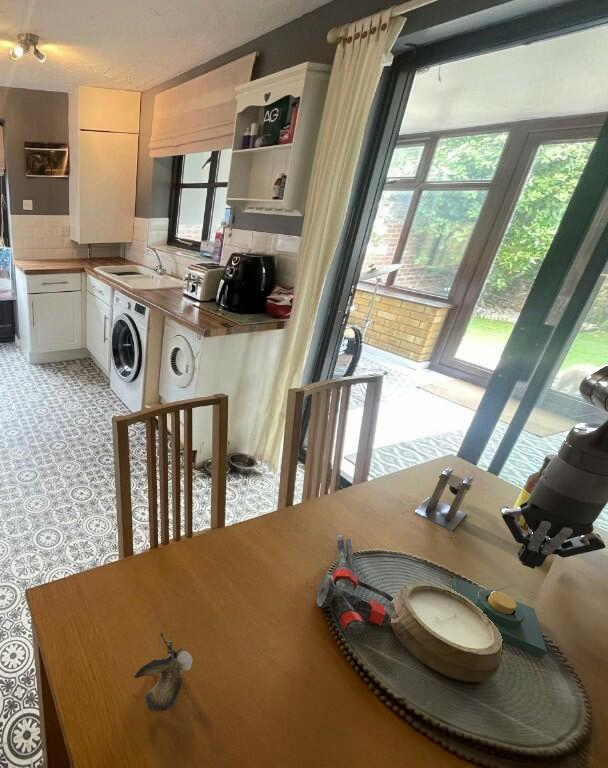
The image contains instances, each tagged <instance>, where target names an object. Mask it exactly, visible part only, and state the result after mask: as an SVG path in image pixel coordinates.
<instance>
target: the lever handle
mask: <svg viewBox="0 0 608 768" xmlns="http://www.w3.org/2000/svg"><path fill="white" fill-rule="evenodd" d="M463 481H464V479H463V478H462V477H460V476H457V475H455V474H453V473H452V474H451V476H450V478H449V479H448V481H447V486H449V487H448V489H449V491H450V493H451V494H452V495H454V496H456V495H457V492H458V490H459V488H460V486H461V484H462V482H463Z"/></svg>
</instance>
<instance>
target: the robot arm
mask: <svg viewBox="0 0 608 768" xmlns="http://www.w3.org/2000/svg"><path fill="white" fill-rule="evenodd" d="M578 392H579V394H580V396H581V397H582V399H583V400H584V401H586V402H587V403H588V404H590V405H591V406H593V407H594V408H597V409H599V410H600V411H602V412H604V413H606V414H608V363H607V364H604V365H601V366H600V367H598V368H595V369H594V370H592V371H591V372H589V373H588V374H587V375H586V376H585V377H584V378H583V379H582V380H581V381H580V384H579V386H578ZM554 455H555V456H554V458H553V459H552V460H551V461H550V462H549V464H548V465H547V467H546V469H544V470H543V472H542V476H541V477H540V479H539V481H538V483H537V485H536V486H535V488H534V490H533V492H532V493H531V495H530V497H529V499H528V501H526V502H525V503H522V504H521V505H520V508H514V507H513V508H509V507H508V506H503V505H502V506H500V508H499V511H500V515H501V518H502V519H503V521H504V523H505V525H506V527H507V528H508V530H509V532H510V533H511V535H512V537H513V538H514V539H513V540H515V542H516V543H517V544H520V545H521V544H522V545H521V547H520V548H519V550H518V551H517V557H518V560H519V561H520V563H521V566H525V567H527V568H531V569H533V570H534V569H536V568H539V567H541V566H543V564H544V562H545V561H546V559H547V558H548V556H551V555H557V556H558V557H560V558H569V557H575V556H578V555H583V554H586V553H587V554H588V553H591V552H595V551H599V550H604V549H606V544H605V541H604V540H603V538H602V537H601V535H600V534H598V533H595V532H594V522H596V520H598V517H599V516H600V515H601V513H602V511H603V510H604V508H605V507H606V505H607V504H608V418H607V419H606V420H605V421H604V422H603V423H602V424H601V423H595V422H583V423H577V424H576V425H574V426H573V427H572V428H570V430H569V432H568V433H567V434H566V436H565V438H564V440H563V441H562V443H561V444H560V447H559V448H558V450H557V452H556V454H554ZM521 515H523V517H524V519H525V521H526V523H527V525H528V531H527V533H524V532H523V530H522V528H521V527H519V525H518V523H517V522H518V521H520V516H521ZM519 561H518V562H519Z"/></svg>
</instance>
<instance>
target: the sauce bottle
mask: <svg viewBox="0 0 608 768" xmlns="http://www.w3.org/2000/svg"><path fill="white" fill-rule="evenodd" d="M555 455H556V454H546V455H545V456H544V458H543V463H542V465H541V467H540V468H539V469H538V471H536V472H534V473H532V474H530V475H529V476H528V477H527V480H526V482H525V484H524V485H523V487H522V489H521V491H520V493H519V495H518V497H517V500H516V502H515V503H514V506H513V508H520V505H521V504H522V503H525V502H526V501H528V499H529V497H530V495H531V493H532V492H533V490H534V488H535V486H536V485H537V483H538V481H539V479H540V477H541V476H542V472H543V470H544V469H546V467H547V465H548V464H549V462H550V461H551V460H552V459H553V458H554V456H555ZM517 523H518V525H519V527H520V529H521V530H522V529H523V530H525V531H527V532H528V525H527V523H526V521H525V519H524V517H523V515H521V516H520V521H518V522H517Z"/></svg>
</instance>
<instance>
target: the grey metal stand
mask: <svg viewBox="0 0 608 768" xmlns="http://www.w3.org/2000/svg"><path fill="white" fill-rule="evenodd" d="M453 471H454V468H451V467H447V469H445V470H444V471H442V472H441V473H440V474H439V476H438V478H439V479H438V482H437V484H436V486H435V488H434V490H433V493H432V495H431V496H428V498H426V499H425V500H424V501H423V502H422V503H421V504H420V505H419V506H418V507H417V508H416V509H415V510H414V511H413V512H414V513H415V514H417V515H419V516H421V517H423V518H425V519H426V520H429V521H431V522H433V523H435V524H437V525H439V526H441V527H443V528H445V529H447V530H448V531H451V532H453V531H454V530H455V529H456V528H457V527H458V526H459V524H460V523H461V522H462V521H463V520H464V519H465V518H466V516H467V515H468V513H466V512H463V511H461V510H459V509H460V507H461V505H462V503H463V502H464V499H465V497H466V495H467V493H468V491H470V490H471V489H472V487H473V485H472V482H473V481H474V479H475V477H473V476H471V475H468V476H467V477H465V479H463V482H462V484H461V486H460V488H459V490H458V492H457V495H455V497H454V499H453V501H452V503H451V505H448V504H447V503H444V502H442V501H441V498H442V495H443V493H444V491H445V489H446V487H447V486H448V484H447V481H448V479H449V478H450V476H451V474H453Z"/></svg>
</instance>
